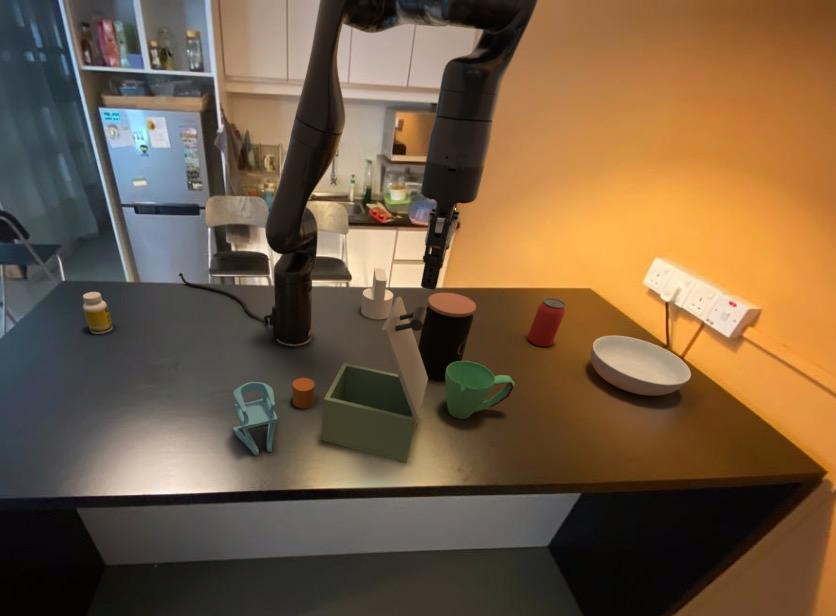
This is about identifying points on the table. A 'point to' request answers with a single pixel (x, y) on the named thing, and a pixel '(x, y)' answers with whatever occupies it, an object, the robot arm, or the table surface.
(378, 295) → the base with upright slab
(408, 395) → the box lid
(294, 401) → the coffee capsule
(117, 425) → the table surface
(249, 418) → the chair
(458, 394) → the mug
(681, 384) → the serving bowl
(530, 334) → the beer can
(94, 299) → the supplement bottle
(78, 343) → the table surface
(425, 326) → the coffee jar
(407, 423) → the pale green hollow box
